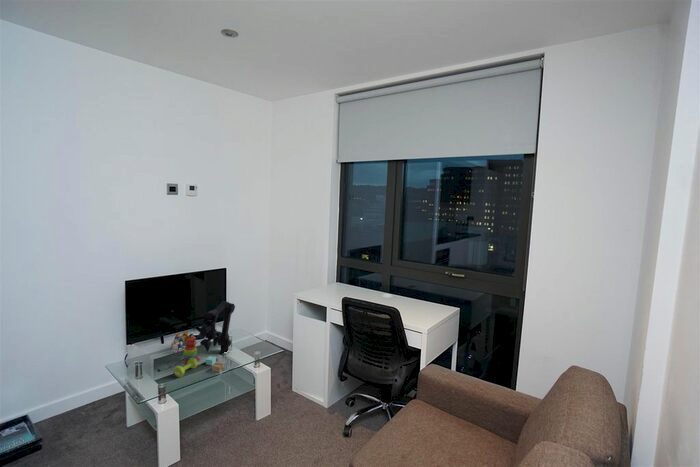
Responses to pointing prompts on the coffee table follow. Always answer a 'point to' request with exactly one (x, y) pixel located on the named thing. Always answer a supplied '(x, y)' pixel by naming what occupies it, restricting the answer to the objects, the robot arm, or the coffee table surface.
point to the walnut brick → (217, 367)
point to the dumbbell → (185, 367)
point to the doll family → (177, 342)
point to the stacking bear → (190, 350)
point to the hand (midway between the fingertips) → (211, 348)
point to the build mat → (214, 372)
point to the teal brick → (210, 360)
